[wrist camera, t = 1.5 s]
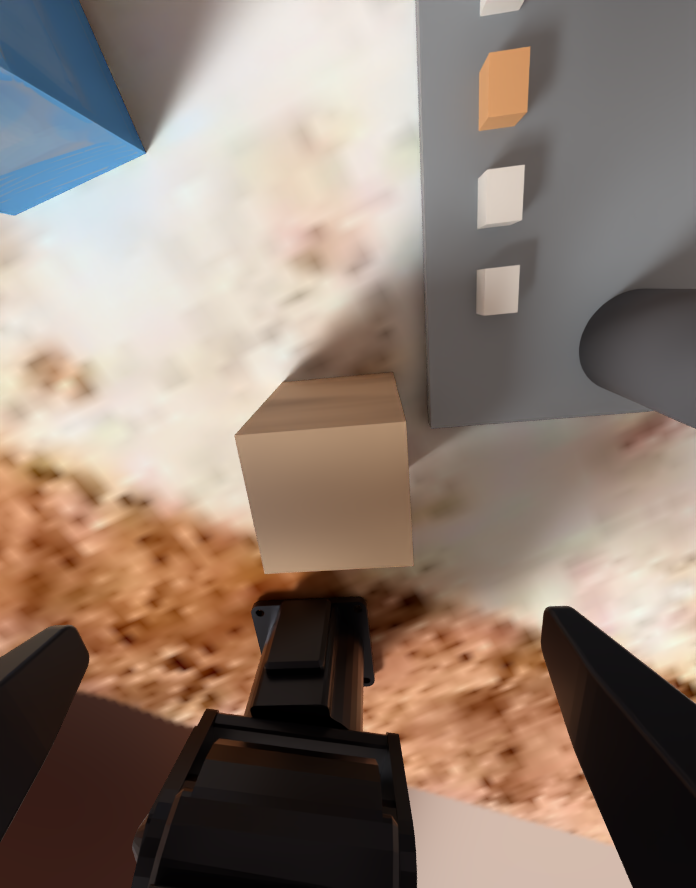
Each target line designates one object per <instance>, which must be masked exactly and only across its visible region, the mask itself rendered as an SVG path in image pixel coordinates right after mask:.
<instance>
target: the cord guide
mask: <svg viewBox="0 0 696 888" xmlns="http://www.w3.org/2000/svg"><path fill="white" fill-rule="evenodd" d="M579 359H580V363H581V367H582V369H583V371H584V373H585V374H586V376H587V377H588V378H589V379H590V380H591V381H592V382H593V383H594V384H596V385H598V386H599V387H602V388H604V389H606V390H608V391H611V392H613V393H615V394H618V395H620V396H622V397H624V398H627V399H629V400H631V401H633V402H636V403H638V404H640V405H643V406H645V407H647V408H649V409H652V410H654V411H656V412H659V413H661V414H663V415H665V416H668V417H670V418H672V419H675V420H677V421H679V422H681V423H684V424H686V425H688V426H691V427H693V428H696V289H648V288H646V289H635V290H630V291H627V292H624V293H622V294H619V295H617V296H615V297H614V298H612V299H610V300H609V301H607V302H606V303H605V304H603V305H602V306H601V307H600V308H599V309H598V310H597V311H596V312H595V313H594V314H593V316H592V317H591V318H590V320H589V321H588V323H587V325H586V327H585V329H584V331H583V333H582V336H581V340H580V345H579Z"/></svg>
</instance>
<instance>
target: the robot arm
mask: <svg viewBox="0 0 696 888" xmlns="http://www.w3.org/2000/svg"><path fill="white" fill-rule="evenodd" d="M357 605H358V606H361V607H355V606H357ZM259 610H262V611H259ZM251 614H252V618H253V622H254V626H255V630H256V634H257V638H258V643H259V647H260V651H261V659H260V662H259V666H258V669H257V672H256V676H255V679H254V683H253V686H252V689H251V693H250V696H249V700H248V703H247V706H246V710H245V713H244V716H241V715H233V714H226V713H219V710H214V709H206V710H205V712H204V714H203V716H202V718H201V720H200V722H199V724H198V726H195V727H194V729H193V731H192V733H191V735H190V736H189V738H188V740H187V742H186V744H185V746H184V748H183V750H182V751H181V753H180V755H179V757H178V759H177V761H176V763H175V765H174V767H173V769H172V770H171V772H170V774H169V776H168V778H167V780H166V782H165V784H164V786H163V788H162V789H161V791H160V793H159V795H158V797H157V799H156V801H155V803H154V805H153V806H152V808H151V810H150V812H149V814H148V815H147V817H146V818H145V820H144V821H143V822H142V824H141V825H140V826H139V828H138V830H137V832H136V835H135V838H134V841H133V846H132V849H133V852H134V855H135V859H136V862H137V864H136V870H135V873H134V877H133V882H132V887H131V888H417V865H416V847H415V835H414V827H413V820H412V814H411V808H410V801H409V795H408V789H407V782H406V776H405V770H404V764H403V758H402V751H401V745H400V739H399V734H395V733H388V732H386V735H385V734H377V733H370V732H363V687H364V686H371V685H373V683H374V681H375V677H374V665H373V656H372V647H371V638H370V629H369V620H368V610H367V603H366V600H365V599H364V598H361V597H338V598H316V599H294V600H271V601H258V602H256V603H255V604H254V605H253V608H252V611H251ZM541 648H542V653H543V656H544V659H545V662H546V665H547V668H548V671H549V675H550V678H551V681H552V684H553V687H554V690H555V693H556V696H557V699H558V703H559V706H560V709H561V712H562V715H563V718H564V721H565V724H566V727H567V730H568V734H569V736H570V739H571V742H572V745H573V748H574V751H575V753H576V756H577V758H578V761H579V763H580V766H581V768H582V770H583V773H584V775H585V777H586V780H587V782H588V784H589V787H590V789H591V791H592V794H593V796H594V798H595V801H596V803H597V805H598V808H599V810H600V812H601V815H602V817H603V819H604V822H605V824H606V826H607V829H608V831H609V833H610V836H611V838H612V840H613V843H614V845H615V847H616V850H617V852H618V854H619V857H620V859H621V861H622V864H623V866H624V868H625V871H626V873H627V875H628V878H629V880H630V882H631V885H632V887H633V888H696V703H694V702H693V701H692V700H690V699H689V698H688V697H687V696H685V695H684V694H683V693H681V692H680V691H679V690H678V689H676V688H675V687H674V686H672V685H671V684H670V683H669V682H667V681H666V680H665V679H663V678H662V677H661V676H660V675H658V674H657V673H656V672H654V671H653V670H652V669H651V668H649V667H648V666H647V665H646V664H644V663H643V662H642V661H640V660H639V659H638V658H637V657H635V656H634V655H633V654H631V653H630V652H629V651H628V650H626V649H625V648H624V647H622V646H621V645H620V644H619V643H617V642H616V641H615V640H613V639H612V638H611V637H610V636H608V635H607V634H606V633H604V632H603V631H602V630H601V629H599V628H598V627H597V626H595V625H594V624H593V623H592V622H590V621H589V620H588V619H586V618H585V617H584V616H583V615H581V614H580V613H579V612H577V611H576V610H575V609H573V608H572V607H569V606H550V607H547V608H546V609H545V610H544V615H543V624H542V633H541ZM88 663H89V653H88V650H87V648H86V646H85V644H84V642H83V640H82V638H81V636H80V634H79V632H78V630H77V629H76V628H75V627H74V626H72V625H55V626H51V627H48V628H46V629H45V630H43V631H41V632H40V633H38V634H37V635H35V636H34V637H32V638H30V639H29V640H27V641H26V642H24V643H22V644H21V645H19V646H18V647H16V648H15V649H13V650H11V651H10V652H8V653H7V654H5V655H3V656H2V657H0V842H1V840H2V838H3V836H4V834H5V833H6V831H7V829H8V827H9V825H10V823H11V821H12V820H13V818H14V816H15V814H16V812H17V811H18V809H19V807H20V805H21V803H22V801H23V799H24V798H25V796H26V794H27V792H28V790H29V789H30V787H31V785H32V783H33V781H34V779H35V777H36V776H37V774H38V772H39V770H40V768H41V766H42V765H43V763H44V761H45V759H46V757H47V755H48V753H49V751H50V749H51V747H52V744H53V742H54V740H55V738H56V736H57V734H58V732H59V729H60V727H61V725H62V723H63V721H64V718H65V716H66V714H67V712H68V709H69V707H70V705H71V703H72V700H73V698H74V696H75V694H76V692H77V689H78V687H79V685H80V683H81V680H82V678H83V676H84V674H85V672H86V669H87V667H88Z"/></svg>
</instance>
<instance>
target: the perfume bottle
mask: <svg viewBox="0 0 696 888" xmlns="http://www.w3.org/2000/svg"><path fill="white" fill-rule="evenodd" d="M145 153H146V152H145V150H144V147H143V145H142V143H141V140H140V138H139V136H138V134H137V131H136V129H135V127H134V125H133V122H132V120H131V118H130V116H129V113H128V111H127V109H126V106H125V104H124V102H123V100H122V97H121V95H120V93H119V91H118V88H117V86H116V84H115V81H114V79H113V77H112V75H111V72H110V70H109V68H108V66H107V63H106V61H105V59H104V56H103V54H102V52H101V50H100V47H99V45H98V43H97V41H96V38H95V36H94V34H93V31H92V29H91V27H90V25H89V22H88V20H87V18H86V16H85V13H84V11H83V9H82V6H81V4H80V2H79V0H0V213H4V214H10V215H17V214H19V213H21V212H23V211H25V210H27V209H30V208H32V207H34V206H36V205H38V204H40V203H42V202H44V201H46V200H48V199H51V198H53V197H55V196H57V195H59V194H61V193H63V192H65V191H67V190H70V189H72V188H74V187H76V186H78V185H80V184H82V183H84V182H86V181H89V180H91V179H93V178H95V177H97V176H99V175H101V174H103V173H105V172H108V171H110V170H112V169H114V168H116V167H118V166H120V165H122V164H124V163H126V162H129V161H131V160H133V159H135V158H137V157H139V156H141V155H143V154H145Z"/></svg>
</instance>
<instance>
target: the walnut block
mask: <svg viewBox="0 0 696 888" xmlns="http://www.w3.org/2000/svg"><path fill="white" fill-rule="evenodd" d="M234 436H235V440H236V445H237V449H238V454H239V459H240V463H241V468H242V472H243V477H244V481H245V486H246V491H247V495H248V500H249V504H250V509H251V513H252V518H253V522H254V527H255V532H256V536H257V541H258V545H259V550H260V554H261V559H262V564H263V568H264V573H265V574H270V573H290V572H309V571H329V570H348V569H368V568H387V567H407V566H414V561H413V542H412V523H411V504H410V485H409V467H408V448H407V429H406V419H405V416H404V412H403V408H402V404H401V401H400V397H399V393H398V390H397V386H396V382H395V379H394V375H393V372H388V373H378V374H367V375H356V376H345V377H334V378H323V379H312V380H301V381H290V382H282V383H281V384H280V386H279V387H278V388H277V389H276V390H275V391H274V392H273V393H272V394H271V396H270V397H269V398H268V399H267V400H266V401H265V402H264V403H263V404H262V405H261V407H260V408H259V409H258V410H257V411H256V412H255V413H254V414H253V415H252V417H251V418H250V419H249V420H248V421H247V422H246V423H245V424H244V425H243V427H242V428H241V429H240V430H239V431H238V432H237V433H236V434H235V435H234Z"/></svg>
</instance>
